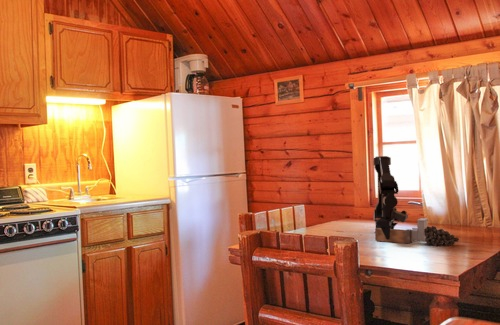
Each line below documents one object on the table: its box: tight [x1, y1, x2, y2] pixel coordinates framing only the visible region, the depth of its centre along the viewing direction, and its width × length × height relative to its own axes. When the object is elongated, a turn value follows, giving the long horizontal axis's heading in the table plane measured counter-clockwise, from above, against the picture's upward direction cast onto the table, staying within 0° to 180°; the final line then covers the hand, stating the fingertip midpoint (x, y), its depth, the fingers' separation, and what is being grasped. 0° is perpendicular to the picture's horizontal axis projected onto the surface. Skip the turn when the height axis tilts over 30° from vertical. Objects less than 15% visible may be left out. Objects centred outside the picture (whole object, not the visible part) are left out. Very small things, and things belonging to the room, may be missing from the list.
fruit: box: [424, 225, 460, 247], centre depth 222 cm, size 9×8×15 cm
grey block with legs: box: [411, 217, 429, 242], centre depth 237 cm, size 7×8×10 cm
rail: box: [374, 227, 413, 244], centre depth 233 cm, size 16×4×6 cm, turn 57°
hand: (389, 238), depth 234 cm, fingers closed on rail, 3 cm apart
